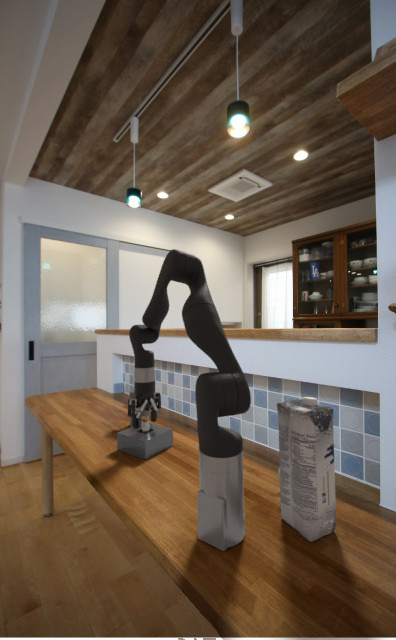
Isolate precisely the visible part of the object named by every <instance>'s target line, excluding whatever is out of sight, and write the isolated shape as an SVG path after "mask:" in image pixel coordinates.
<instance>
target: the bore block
mask: <svg viewBox="0 0 396 640" xmlns="http://www.w3.org/2000/svg"><path fill="white" fill-rule="evenodd" d="M116 440H117V441H116V446H117V448H116V449H117V451H119V452H122V453H125V454H128V455H130V456H133V457H137V458H139V459H143V460H148V459H150V458H152V457H153V456H155V455H157V454H159V453H161V452H163V451H165V450H166V449H168V448H170V447H172V446H173V445H174V429H173V428H172V427H167V426H163V425H159V424H155V423H153V422H150V432H149V433H146V434H144V433H142V424H139V428H138V429H136V428H134V427H129V428H126V429H123V430H120V431H119V432H116Z"/></svg>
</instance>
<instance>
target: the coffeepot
mask: <svg viewBox="0 0 396 640" xmlns="http://www.w3.org/2000/svg"><path fill="white" fill-rule="evenodd" d="M128 392H129V399H135V397H136V394H135V393H134V388H133V389H130V390H129V391H128ZM138 409H139V407H138ZM149 411H150V408H146V409H143V411H142V412H141V413H140V415H139V424H142V416H146V415H147V416H150V415H149ZM137 412H138V411H137ZM131 413H132V411H131ZM136 414H137V413H136ZM131 427H133V418H132V417H130V420H129V428H131Z"/></svg>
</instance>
